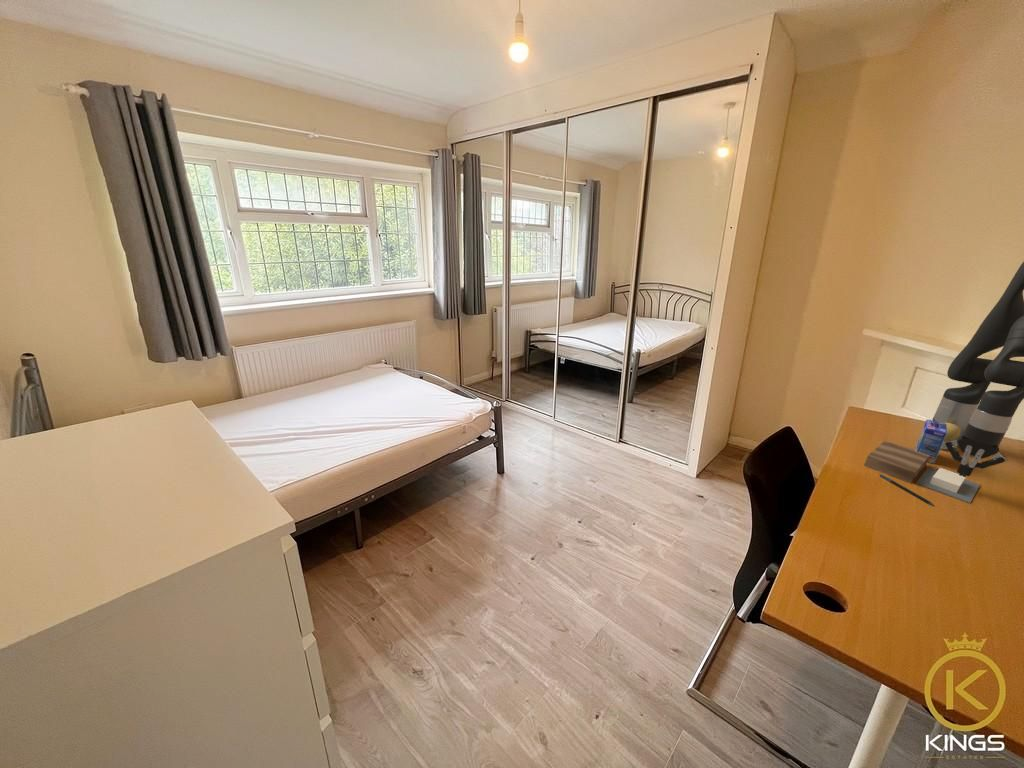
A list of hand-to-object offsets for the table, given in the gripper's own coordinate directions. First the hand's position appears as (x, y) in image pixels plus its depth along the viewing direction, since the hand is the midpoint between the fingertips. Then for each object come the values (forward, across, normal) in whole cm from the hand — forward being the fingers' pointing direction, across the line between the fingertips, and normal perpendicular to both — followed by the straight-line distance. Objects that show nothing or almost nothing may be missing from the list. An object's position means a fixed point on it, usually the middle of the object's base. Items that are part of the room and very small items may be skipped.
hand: (962, 475), depth 124 cm
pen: (+5, +9, +15) cm, 18 cm away
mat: (+4, +2, 0) cm, 5 cm away
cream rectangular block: (+3, +2, 0) cm, 4 cm away
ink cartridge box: (+5, +11, -17) cm, 21 cm away
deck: (+4, +15, 0) cm, 16 cm away
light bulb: (+5, +9, -30) cm, 32 cm away
